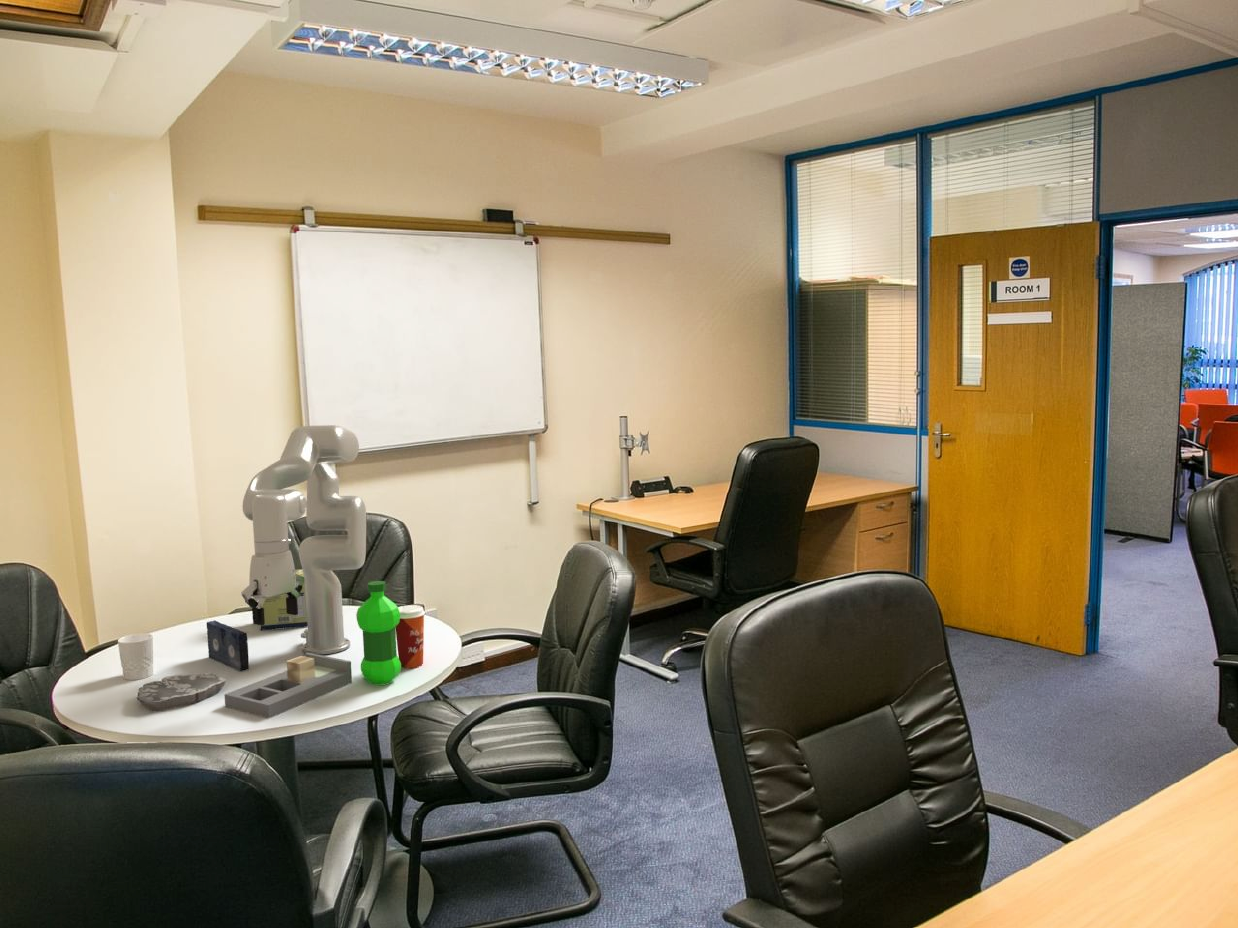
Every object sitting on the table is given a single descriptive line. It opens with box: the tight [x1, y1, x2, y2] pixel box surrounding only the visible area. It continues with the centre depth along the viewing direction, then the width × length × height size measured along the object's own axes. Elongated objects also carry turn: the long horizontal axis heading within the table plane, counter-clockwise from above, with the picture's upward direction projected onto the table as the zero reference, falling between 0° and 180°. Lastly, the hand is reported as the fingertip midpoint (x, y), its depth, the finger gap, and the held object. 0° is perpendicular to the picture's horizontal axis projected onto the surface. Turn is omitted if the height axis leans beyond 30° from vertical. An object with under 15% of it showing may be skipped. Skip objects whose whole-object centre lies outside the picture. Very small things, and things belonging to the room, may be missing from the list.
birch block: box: [286, 655, 315, 682], centre depth 224 cm, size 4×4×4 cm
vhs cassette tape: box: [206, 620, 250, 672], centre depth 245 cm, size 18×3×10 cm, turn 47°
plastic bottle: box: [355, 580, 402, 686], centre depth 228 cm, size 10×10×25 cm
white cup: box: [117, 632, 154, 681], centre depth 237 cm, size 8×8×10 cm
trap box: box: [224, 653, 353, 719], centre depth 222 cm, size 15×25×6 cm, turn 150°
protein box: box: [258, 568, 307, 631], centre depth 281 cm, size 10×16×16 cm
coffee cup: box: [395, 604, 426, 669], centre depth 241 cm, size 8×8×15 cm
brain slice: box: [136, 673, 226, 712], centre depth 222 cm, size 20×17×3 cm
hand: (276, 619), depth 217 cm, fingers open, 9 cm apart
